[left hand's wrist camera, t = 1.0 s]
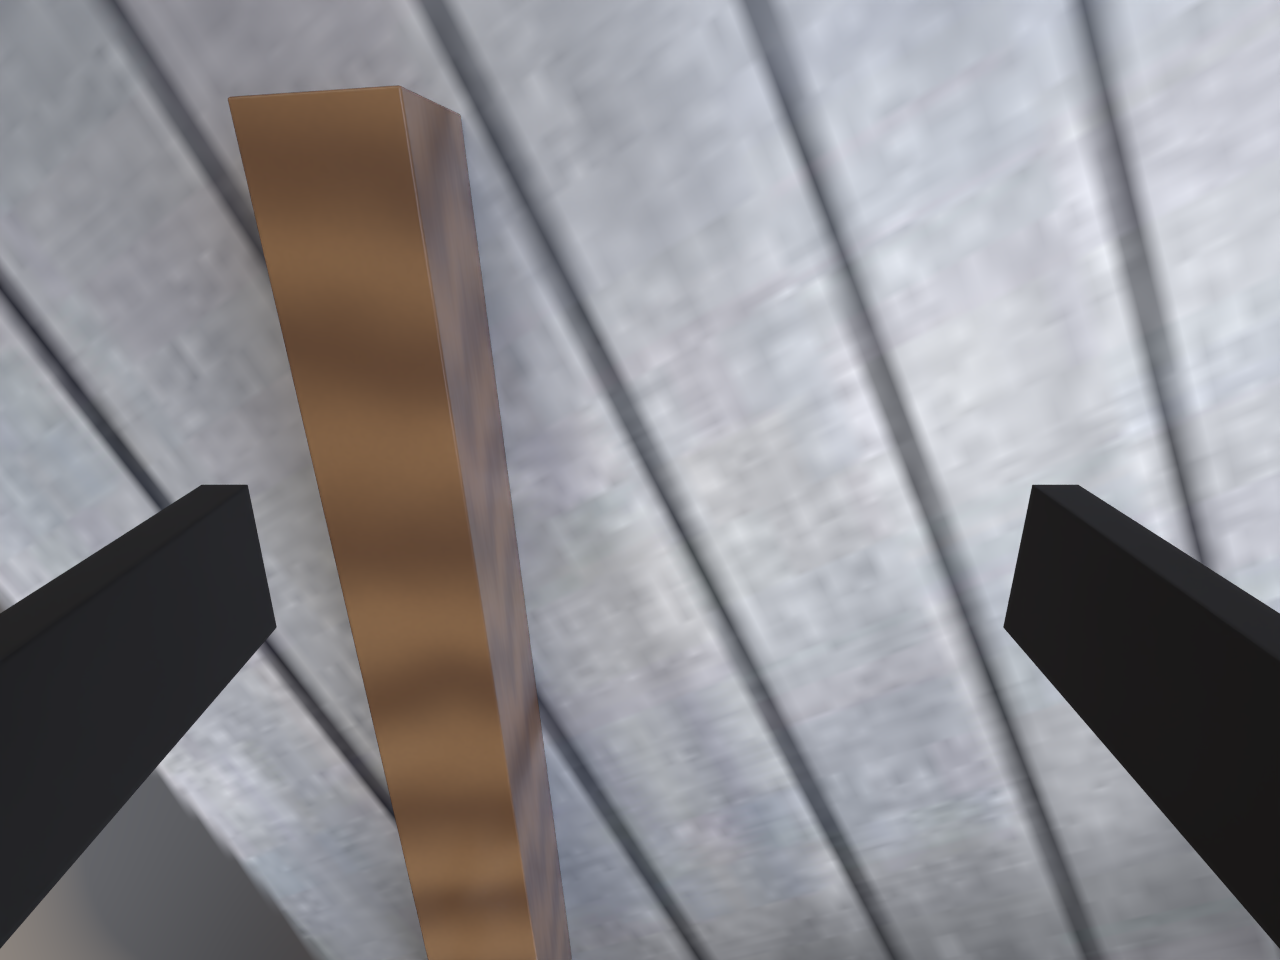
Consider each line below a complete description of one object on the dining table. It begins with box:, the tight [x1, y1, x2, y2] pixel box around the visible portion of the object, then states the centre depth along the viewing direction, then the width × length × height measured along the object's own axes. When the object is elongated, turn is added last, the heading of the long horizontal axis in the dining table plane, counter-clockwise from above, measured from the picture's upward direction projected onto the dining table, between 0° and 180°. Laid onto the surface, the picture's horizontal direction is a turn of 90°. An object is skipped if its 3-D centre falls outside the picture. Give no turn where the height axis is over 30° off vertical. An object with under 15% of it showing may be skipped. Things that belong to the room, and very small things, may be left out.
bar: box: [228, 85, 572, 960], centre depth 33 cm, size 52×5×7 cm, turn 3°
